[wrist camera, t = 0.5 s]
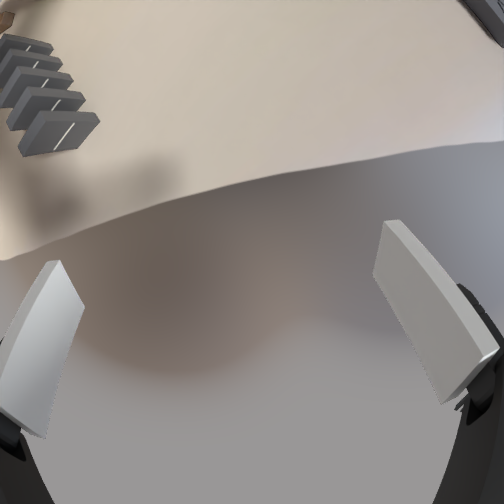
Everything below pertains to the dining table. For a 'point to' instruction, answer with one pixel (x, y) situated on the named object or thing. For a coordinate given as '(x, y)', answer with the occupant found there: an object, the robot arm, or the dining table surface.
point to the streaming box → (490, 16)
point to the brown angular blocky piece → (5, 20)
